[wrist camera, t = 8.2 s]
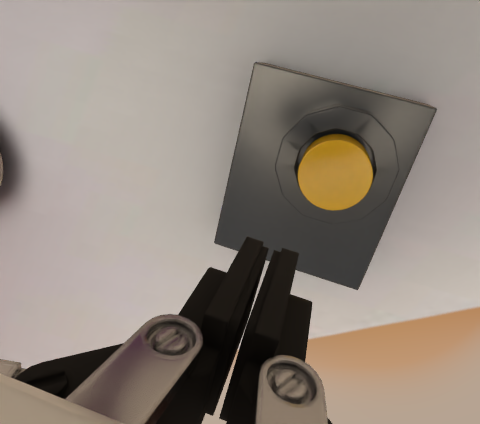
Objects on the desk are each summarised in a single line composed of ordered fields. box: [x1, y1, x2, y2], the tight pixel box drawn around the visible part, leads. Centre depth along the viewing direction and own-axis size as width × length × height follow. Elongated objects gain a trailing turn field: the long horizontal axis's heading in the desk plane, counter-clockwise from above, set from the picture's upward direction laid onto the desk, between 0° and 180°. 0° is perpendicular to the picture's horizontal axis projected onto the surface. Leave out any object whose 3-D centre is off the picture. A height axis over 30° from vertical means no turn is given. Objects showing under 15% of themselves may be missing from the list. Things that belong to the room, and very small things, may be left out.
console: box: [214, 62, 437, 290], centre depth 25 cm, size 13×11×4 cm
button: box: [298, 134, 373, 210], centre depth 21 cm, size 4×4×2 cm
